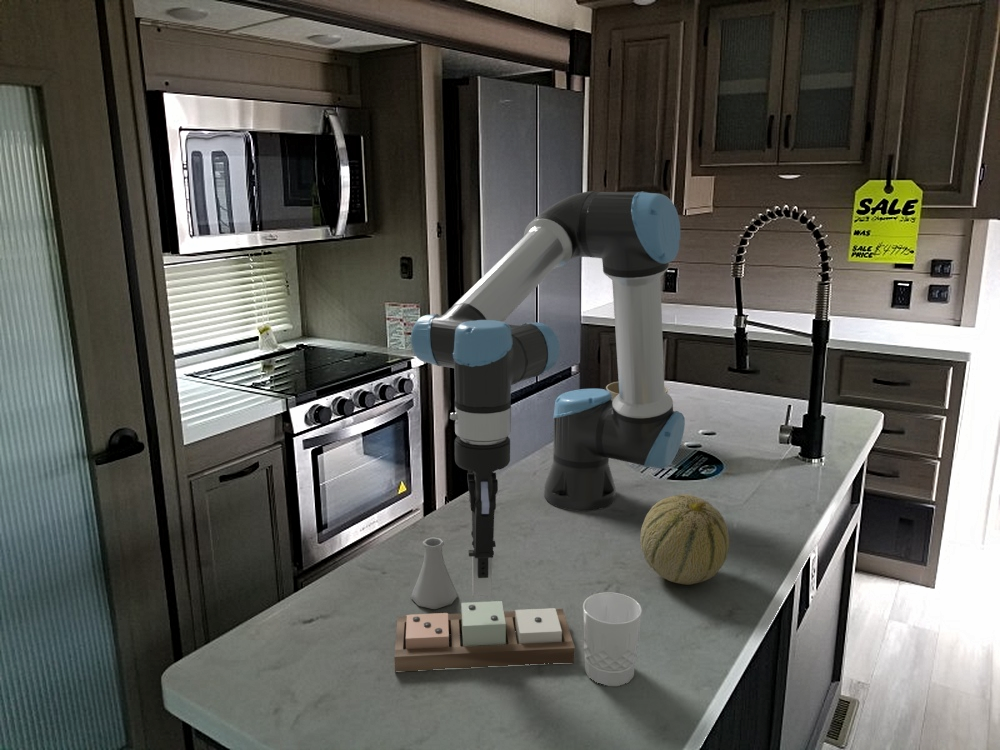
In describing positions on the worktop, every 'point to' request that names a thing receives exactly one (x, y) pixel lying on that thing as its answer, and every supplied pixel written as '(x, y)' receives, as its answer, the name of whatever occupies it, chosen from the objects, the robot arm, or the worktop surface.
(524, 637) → the tile
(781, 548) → the worktop surface
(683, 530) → the cantaloupe
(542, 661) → the board
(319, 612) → the worktop surface
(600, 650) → the white cup
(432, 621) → the three-pip tile
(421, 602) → the flask
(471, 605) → the tile
